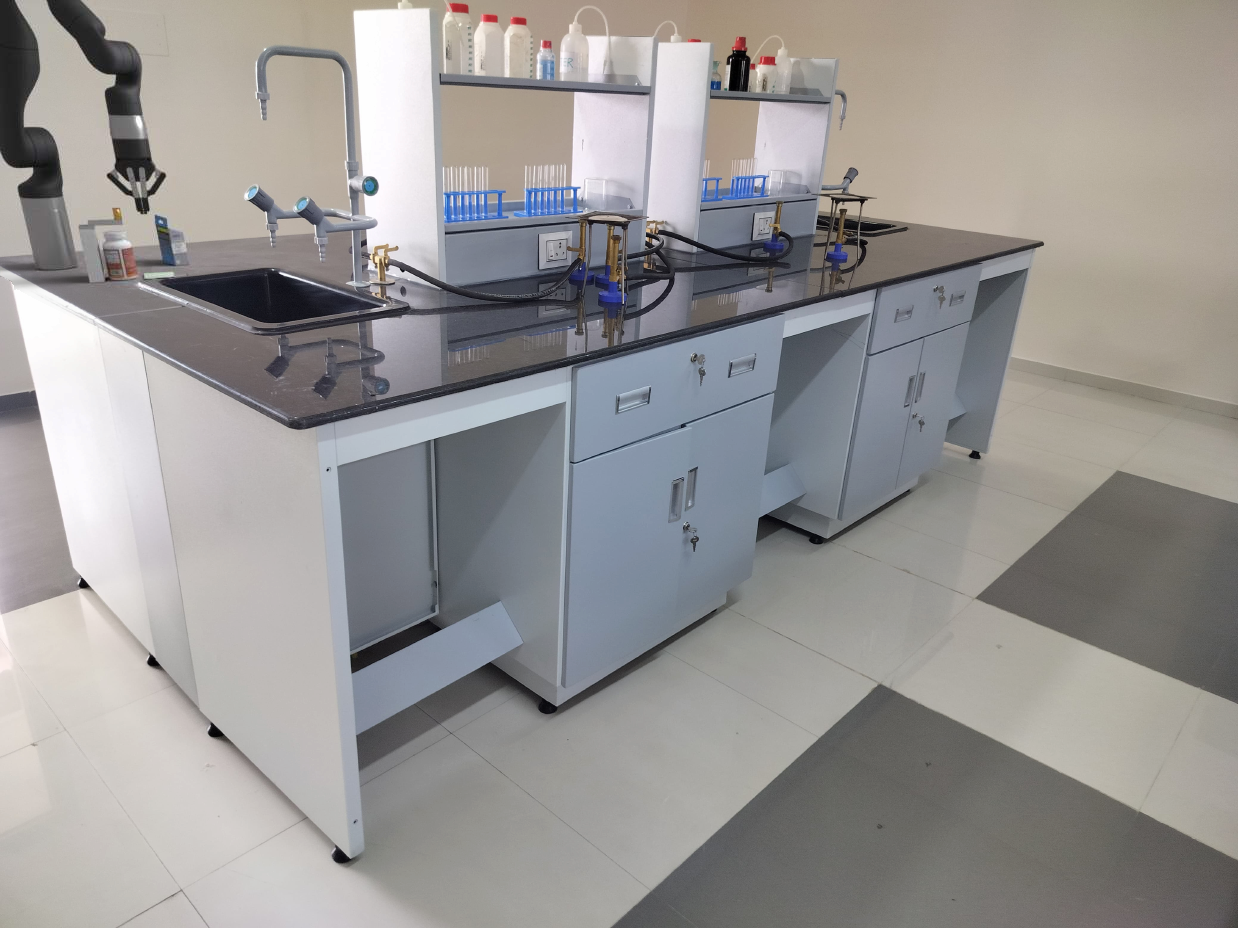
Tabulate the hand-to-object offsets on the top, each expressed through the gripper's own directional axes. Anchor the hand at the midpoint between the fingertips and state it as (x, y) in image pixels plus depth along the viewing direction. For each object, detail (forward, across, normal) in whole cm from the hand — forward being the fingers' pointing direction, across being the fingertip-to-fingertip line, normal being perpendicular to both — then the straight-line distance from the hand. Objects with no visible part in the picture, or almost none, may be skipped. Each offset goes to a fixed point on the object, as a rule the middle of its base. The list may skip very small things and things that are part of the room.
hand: (143, 214), depth 205 cm
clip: (+2, +8, 0) cm, 9 cm away
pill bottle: (+15, +7, 0) cm, 17 cm away
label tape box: (+15, -5, -18) cm, 25 cm away
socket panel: (+15, +12, -2) cm, 20 cm away
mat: (+15, -1, 0) cm, 15 cm away
